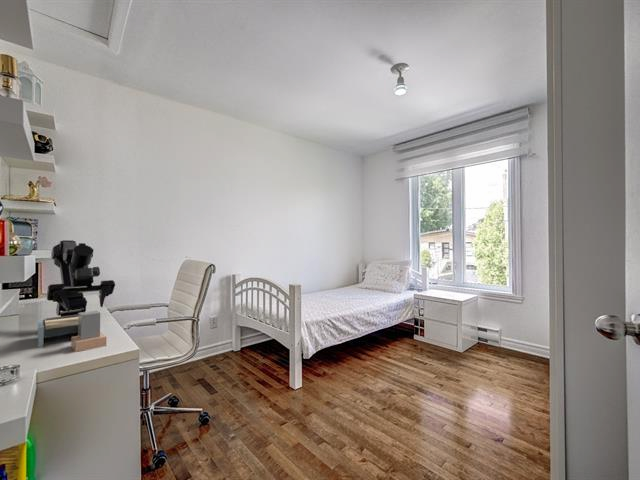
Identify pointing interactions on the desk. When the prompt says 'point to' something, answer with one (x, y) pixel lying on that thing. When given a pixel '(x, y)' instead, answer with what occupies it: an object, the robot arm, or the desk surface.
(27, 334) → the desk surface
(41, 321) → the trapdoor frame
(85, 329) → the grey upright block
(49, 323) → the trapdoor
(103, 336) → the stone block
